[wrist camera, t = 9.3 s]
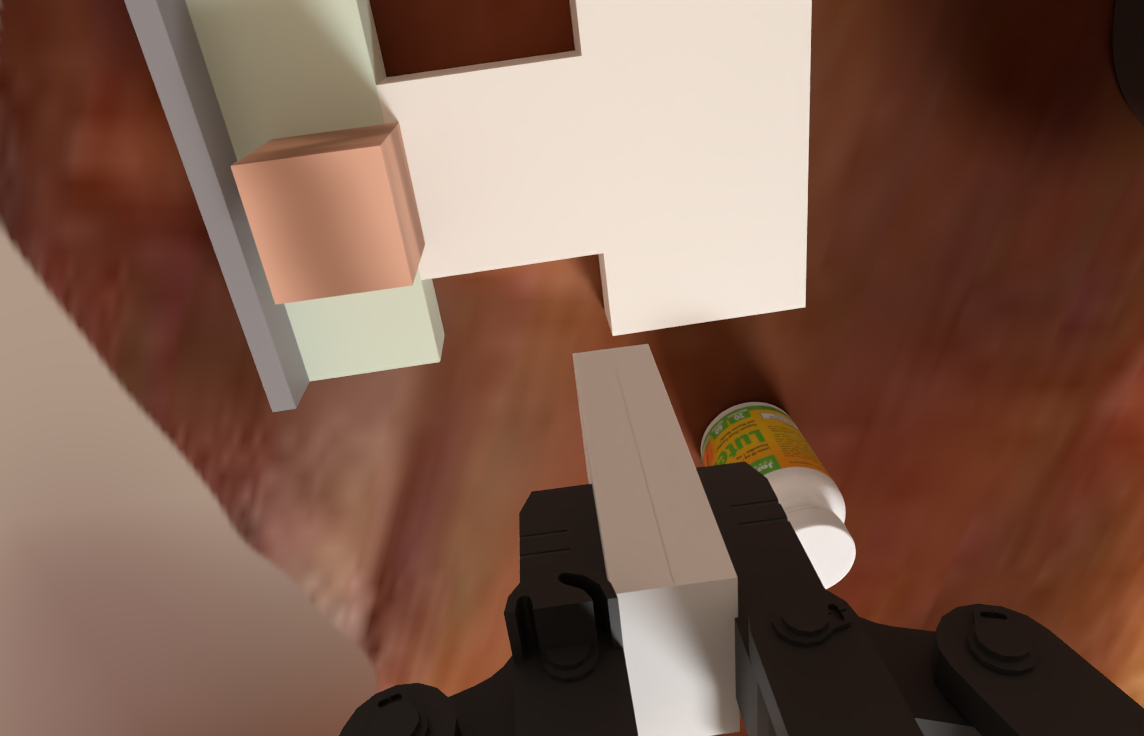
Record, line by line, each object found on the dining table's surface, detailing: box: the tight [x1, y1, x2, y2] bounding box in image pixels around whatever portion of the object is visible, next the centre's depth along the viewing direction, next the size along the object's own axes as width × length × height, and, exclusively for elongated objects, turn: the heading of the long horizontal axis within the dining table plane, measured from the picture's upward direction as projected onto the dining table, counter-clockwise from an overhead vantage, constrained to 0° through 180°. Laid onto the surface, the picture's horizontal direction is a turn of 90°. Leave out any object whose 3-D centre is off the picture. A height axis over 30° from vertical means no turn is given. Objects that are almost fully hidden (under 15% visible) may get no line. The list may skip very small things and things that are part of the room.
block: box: [231, 122, 425, 305], centre depth 28 cm, size 5×5×5 cm
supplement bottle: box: [701, 402, 856, 589], centre depth 37 cm, size 5×5×10 cm
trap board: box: [124, 0, 812, 412], centre depth 31 cm, size 24×16×6 cm, turn 97°
